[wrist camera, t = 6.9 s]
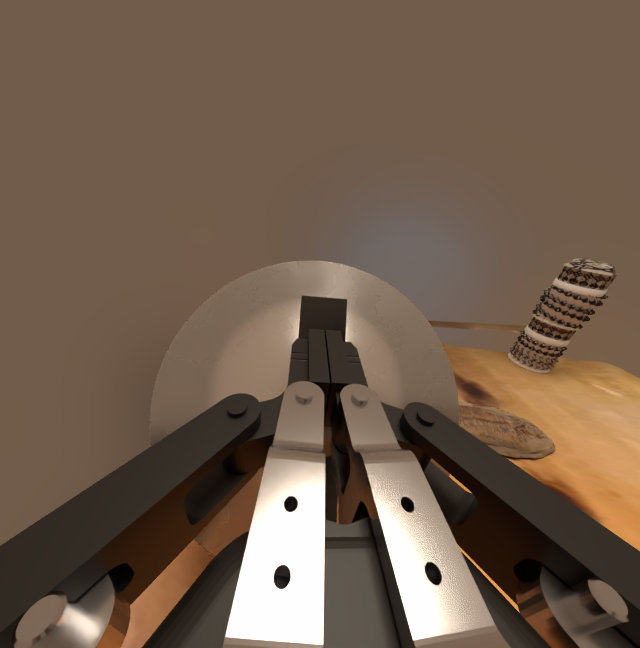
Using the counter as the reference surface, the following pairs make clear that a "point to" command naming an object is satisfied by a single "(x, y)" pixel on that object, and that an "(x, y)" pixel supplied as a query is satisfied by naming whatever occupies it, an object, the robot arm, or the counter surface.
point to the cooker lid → (275, 352)
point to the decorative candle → (561, 313)
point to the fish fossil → (504, 431)
